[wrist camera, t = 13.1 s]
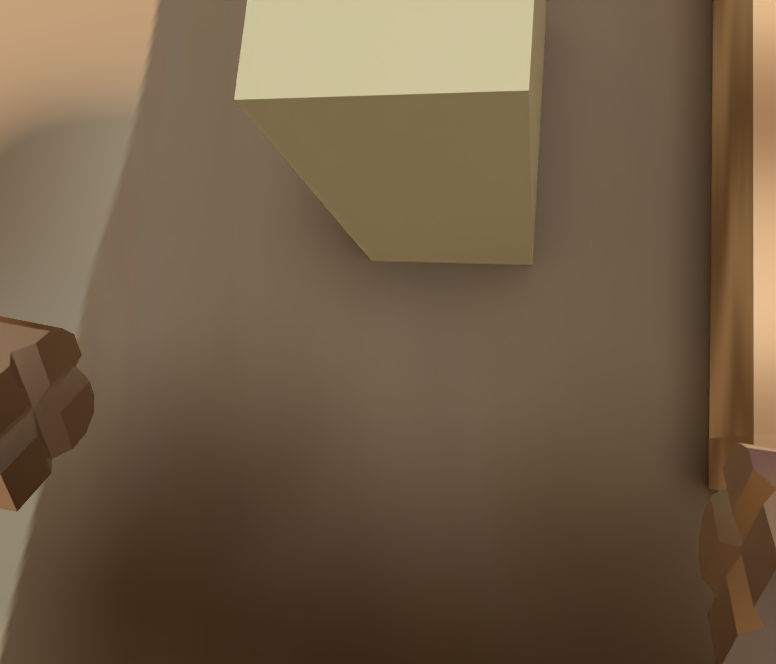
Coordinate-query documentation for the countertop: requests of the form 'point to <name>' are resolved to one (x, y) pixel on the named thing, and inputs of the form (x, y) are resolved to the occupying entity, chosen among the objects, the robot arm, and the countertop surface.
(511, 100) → the pale olive cuboid
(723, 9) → the wooden frame
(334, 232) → the countertop surface
